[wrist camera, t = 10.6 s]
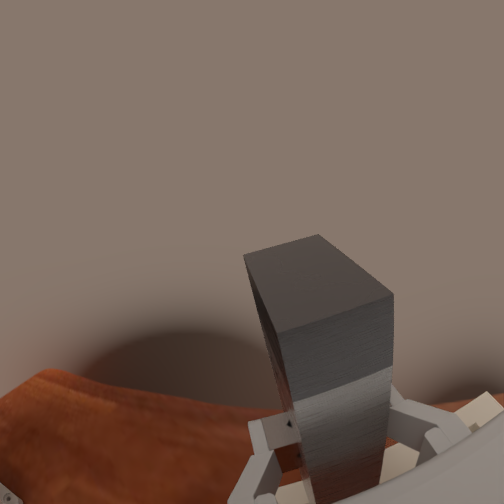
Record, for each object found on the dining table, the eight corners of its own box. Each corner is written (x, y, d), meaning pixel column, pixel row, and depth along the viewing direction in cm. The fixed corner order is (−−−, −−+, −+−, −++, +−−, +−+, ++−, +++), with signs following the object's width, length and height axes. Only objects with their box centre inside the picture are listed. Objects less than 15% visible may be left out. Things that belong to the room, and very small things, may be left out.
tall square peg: (368, 532, 12) (393, 293, 6) (325, 548, 11) (276, 333, 6) (343, 478, 16) (318, 234, 10) (305, 491, 16) (242, 254, 10)
